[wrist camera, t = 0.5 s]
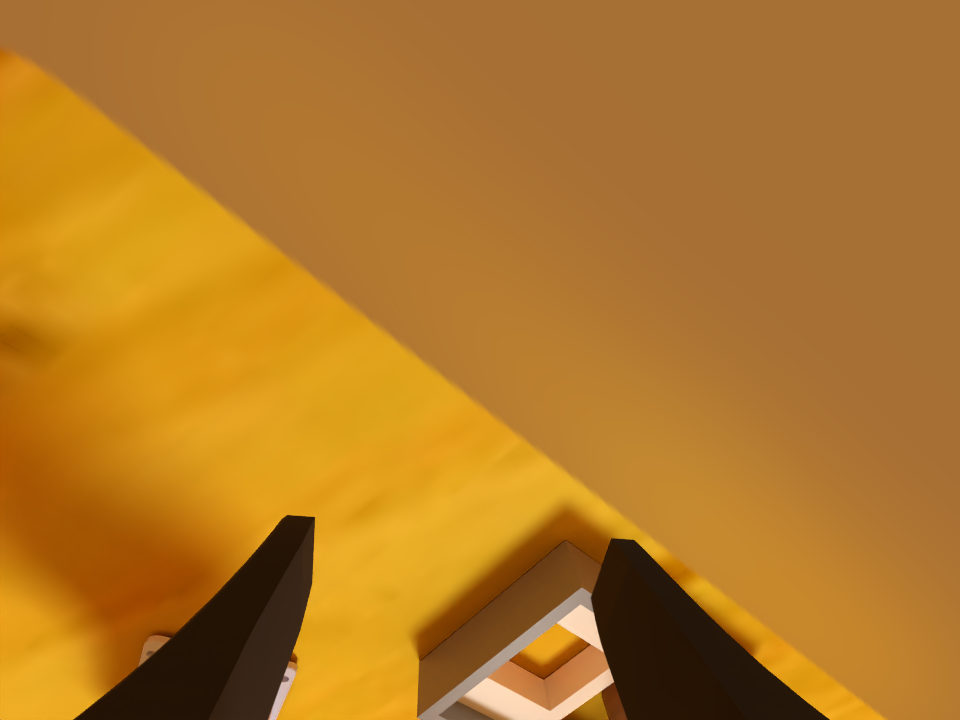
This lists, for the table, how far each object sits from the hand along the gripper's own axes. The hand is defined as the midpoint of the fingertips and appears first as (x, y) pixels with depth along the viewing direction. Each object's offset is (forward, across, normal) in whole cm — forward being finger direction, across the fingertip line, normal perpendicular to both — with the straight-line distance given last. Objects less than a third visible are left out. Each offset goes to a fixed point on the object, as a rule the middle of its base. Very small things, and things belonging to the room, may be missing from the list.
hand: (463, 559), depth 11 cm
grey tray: (+10, -12, +18) cm, 24 cm away
